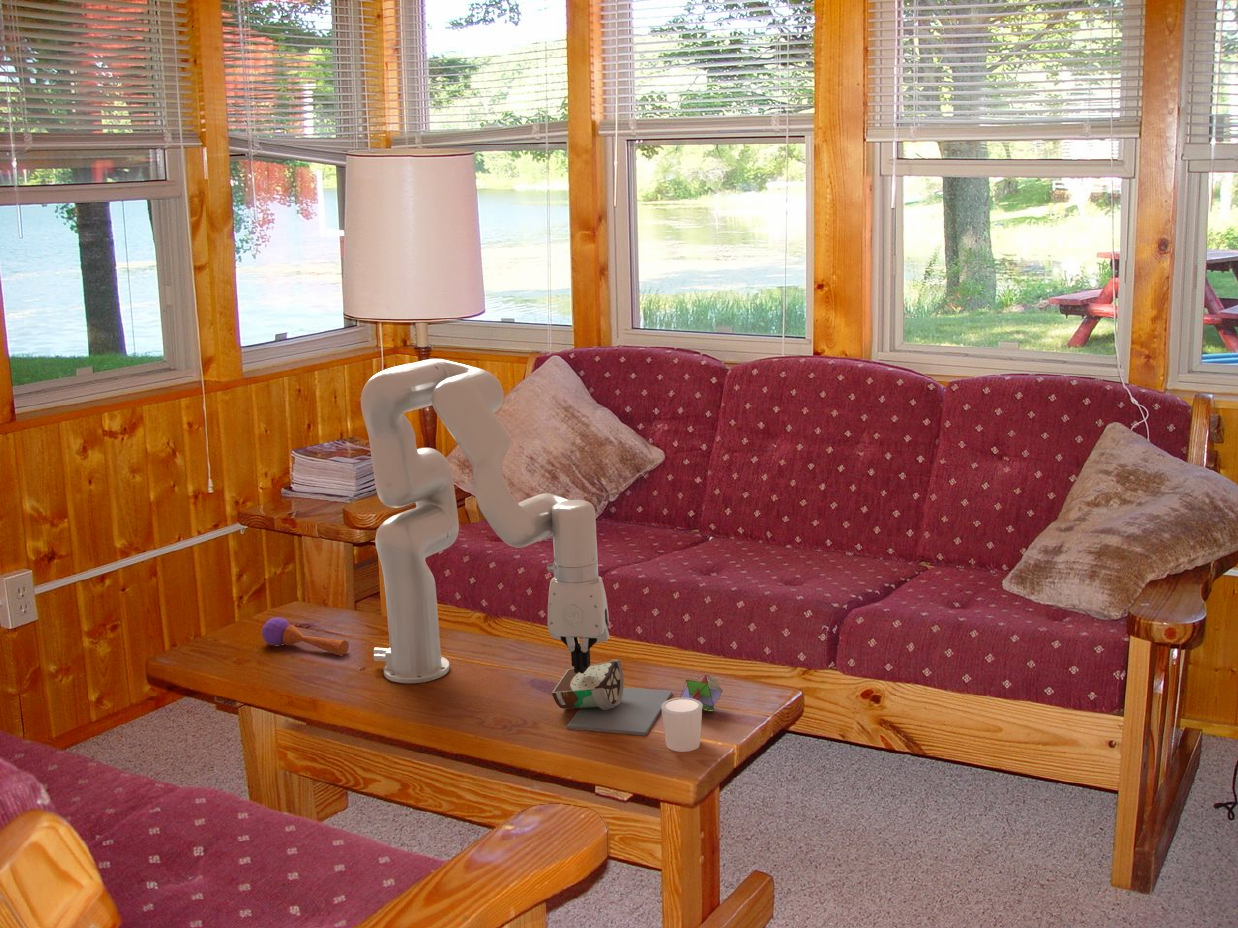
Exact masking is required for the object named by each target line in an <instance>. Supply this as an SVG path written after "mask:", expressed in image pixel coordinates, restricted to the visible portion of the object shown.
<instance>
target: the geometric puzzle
mask: <svg viewBox="0 0 1238 928" xmlns="http://www.w3.org/2000/svg"><path fill="white" fill-rule="evenodd" d="M697 677H698V678H697ZM702 677H703V678H702V680H701V681H697V680H698V679H700V677H699V675H698V676H696V678H697V680H691V679H688V678H687V679H685V683H686V687H685V689H684V686H683V687H682V689H684V690H683V691H682V693H681V694H679V695H680V696H679V698H692V699H696V700H698V701H700V702H701V703H702V709H707V711H706V710H704V712H702V715H704V713H706V712H709V711H708V710H713V711H715V705H716V703H718V701H719V700H720V698H721V696H722V693H723V691H724V690H723V689H722V688H721V685H720V684H719V682H718V680H717V679H716V678H713V677H711V676H710V675H708V674H707V673H704V674H703V675H702ZM717 706H718V705H716V708H717Z"/></svg>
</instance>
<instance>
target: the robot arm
mask: <svg viewBox="0 0 1238 928" xmlns="http://www.w3.org/2000/svg"><path fill="white" fill-rule="evenodd" d="M504 396H505V395H504V388H503V387H502V384H501V382H500V381H499V379H498V378H497V377H496V376H495V375H494V374H492V373H491V372H489V371H488V370H486V369H482V368H479V367H475V366H471V365H468V364H467V365H466V364H463V363H458V362H456V361H451V360H448V359H447V360H446V359H441V358H430V359H424V360H420V361H416V362H411V363H405V364H401V365H396V366H393V367H389V368H386V369H384V370H381V371H379V372H377V373H376V374H374V375H372V376H371V377H370V378H369V379H368V380H367V382H366V383H365V384H364V387H363V388H362V391H361V396H360V409H361V414H362V418H363V420H364V421H363V422H364V424H365V428H366V432H367V435H368V441H369V450H370V456H371V464H372V470H373V477H374V484H375V490H376V494H377V497H378V498H379V501H380V502H381V503H382V504H383V505H384V506H385V507H389V508H395V509H397V508H401V507H405V506H409V505H411V504H415V506H416V507H413V508H411V509H407V510H405V511H403V512H400V513H396V514H395V515H394V514H393V515H392V516H390V517H388V518H387V519H386V520H385V521H383V522H382V523H381V524H380V525H379V527H378V528H377V529H376V530H377V531H376V533H375V534H376V535H375V540H374V542H375V548H376V552H377V555H378V559H379V562H380V566H381V569H382V571H381V572H382V577H383V582H384V592H385V593H384V594H385V595H384V596H385V602H386V603H385V604H386V616H387V627H388V638H389V648H385V647H377V646H376V647H374V649H373V651H372V652H373V661H376V662H384V663H385V665H384V668H383V675H384V677H385V678H386V679H387V680H388V681H391V682H395V683H398V684H421V683H427V682H432V681H434V680H437V679H439V678H443V676H446V674H448V673H449V671H450V668H451V667H450V666H451V664H450V662H449V660H448V659H447V658H445V657H444V656H442V653H441V642H440V641H441V640H440V627H439V626H440V624H439V614H438V613H439V612H438V611H439V610H438V600H437V587H436V581H435V577H434V575H433V572H432V571H431V569H430V567H429V566H428V564H427V562H426V559H427V558H428V557H430V556H432V555H435V554H438V553H439V552H442V551H444V550H447V549H448V548H449V547H451V546H452V545H453V544H454V543H455V542H456V539H457V538H458V535H459V529H460V526H459V525H460V522H459V515H458V514H459V513H458V512H459V511H458V505H457V499H456V498H457V497H456V491H455V490H456V489H455V483H454V482H455V481H454V476H453V471H452V469H451V466H450V464H449V461H448V460H447V458H446V457H445V456H444V455H443V453H441V452H440V451H438V450H437V449H435V448H431V447H420V448H417V443H416V442H417V441H416V440H417V439H416V434H415V430H414V428H413V425H412V424H411V422H410V421H409V419H408V418H407V416H406V415H405V414H406V413H407V412H411V411H415V410H419V409H423V408H426V407H430V406H432V407H433V410H434V412H435V413H436V414H437V416H438V418H439V419H440V421H441V422H442V424H443V425H444V427H445V429H447V431H448V432H449V434H450V435H451V436H452V438H453V439H454V440H455V442H456V444H457V445H458V447H459V448H460V450H462V452H463V454H464V455H465V457H466V459H467V460H468V461H469V462H470V465H471V466H472V471H473V472H472V474H473V475H472V476H473V477H472V481H473V482H472V483H473V489H474V494H475V500H476V503H477V505H478V508H479V510H480V512H481V514H482V516H483V517H484V518H485V519H486V521H487V523H488V524H489V526H490V528H492V530H493V531H494V533H495V534H496V535H497V536H498V537H499V539H501V540H502V542H504V543H505V544H506V545H508V546H511V547H512V548H517V549H518V548H519V549H521V548H525V547H528V546H530V545H533V544H535V543H537V542H539V541H541V540H544V539H546V538H547V539H548V538H550V537H552V543H553V561H554V562H551V563H548V564H547V565H546V569H547V571H548V572H551V573H553V577H552V578H551V579H550V582H549V589H548V598H547V600H548V601H547V628H548V632H549V636H550V638H552V639H554V640H558V641H561V642H562V643H563V644H564V645H565V646H566V647H567V649H568V650H569V652H570V656H571V660H570V661H571V666H572V667H573V668H574V673H578V672H579V673H582V674H583V673H584V672H585V671H586V670H587V669H588V668H589V667H590V665H591V650H590V649H591V648H592V647H593V646H594V645H595V644H597V643H604V642H607V641H608V640H610V633H609V630H608V628H609V626H610V625H609V624H610V619H609V609H608V600H607V594H606V591H605V585H604V582H603V578H602V577H601V576H599V564H598V563H599V562H598V543H597V542H598V541H597V521H596V518H597V516H596V509H595V506H594V504H593V503H591V502H589V501H588V500H583V499H568V498H566V497H563V496H560V495H558V494H554V493H549V492H548V493H540V494H537V495H535V496H532V497H529V498H526V499H524V500H521V501H519V502H518V501H517V500H516V499H515V497H514V496H513V494H512V493H511V491H510V490H509V487H508V486H507V484H506V482H505V478H504V473H503V472H504V471H503V466H504V461H505V458H506V457H507V455H508V454H509V453H510V451H511V449H512V448H513V443H514V440H513V437H512V436H511V434H510V433H509V432H508V430H507V429H506V427H505V426H504V424H503V423H502V422H501V421H500V419H499V418H498V416H497V415H496V414H495V412H497V411H499V410H500V408H501V407H502V405H503V402H504V398H505V397H504ZM580 638H581V643H580Z"/></svg>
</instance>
